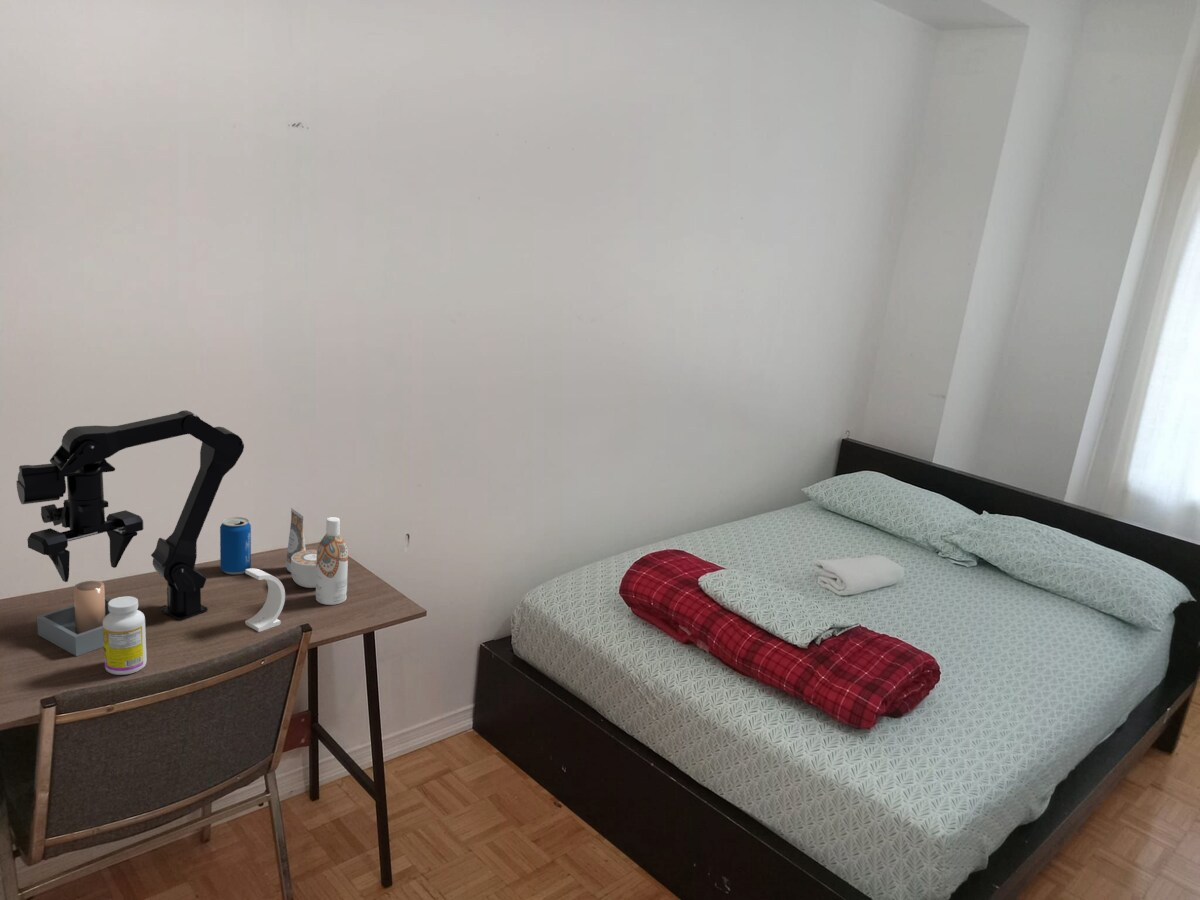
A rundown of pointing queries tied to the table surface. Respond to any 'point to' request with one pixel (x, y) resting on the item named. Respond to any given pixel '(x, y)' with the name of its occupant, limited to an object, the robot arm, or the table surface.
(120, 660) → the supplement bottle
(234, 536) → the beverage can
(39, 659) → the table surface
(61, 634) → the tray
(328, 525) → the cosmetic set
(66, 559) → the robot arm
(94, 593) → the cup
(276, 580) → the headphone stand
